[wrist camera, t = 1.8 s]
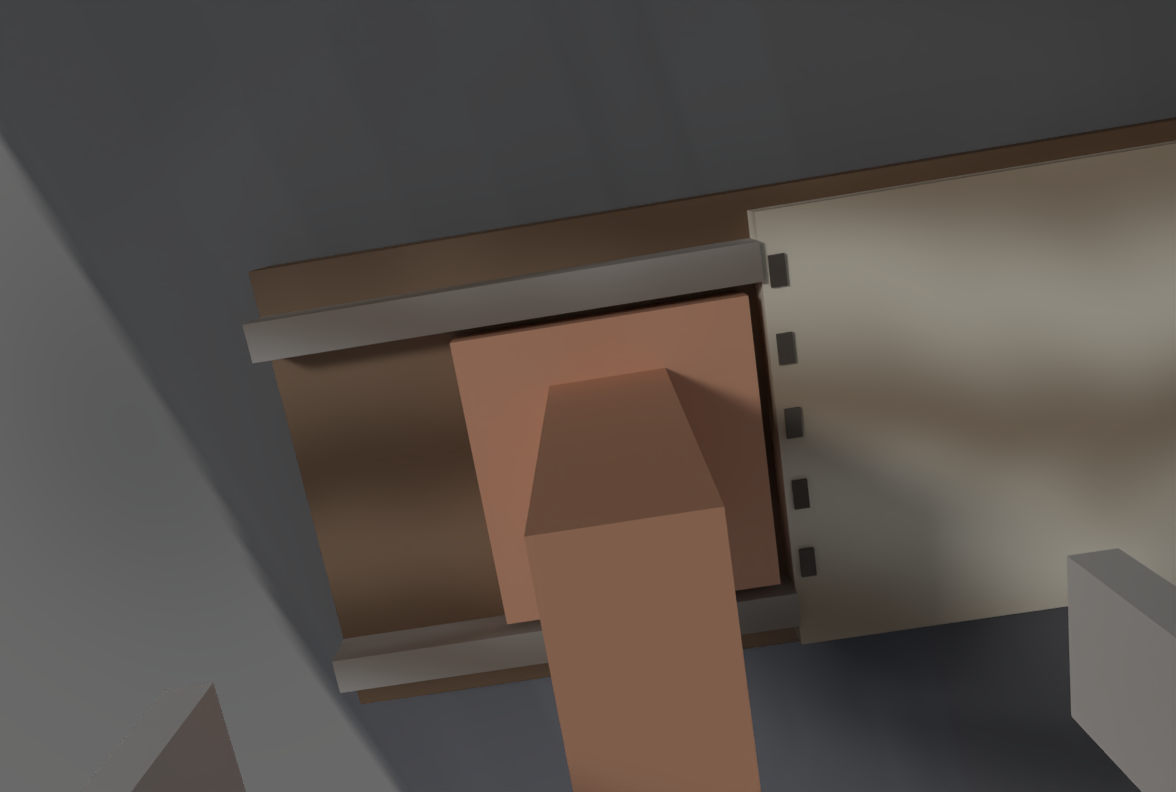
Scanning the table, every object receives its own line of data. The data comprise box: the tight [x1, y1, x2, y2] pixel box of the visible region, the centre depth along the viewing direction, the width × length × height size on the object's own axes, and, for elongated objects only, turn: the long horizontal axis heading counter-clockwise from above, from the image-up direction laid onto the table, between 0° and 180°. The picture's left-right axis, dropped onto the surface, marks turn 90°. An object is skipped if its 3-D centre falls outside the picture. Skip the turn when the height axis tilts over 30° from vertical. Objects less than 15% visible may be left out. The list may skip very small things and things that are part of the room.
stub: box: [450, 290, 781, 792], centre depth 18 cm, size 8×8×10 cm
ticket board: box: [243, 118, 1176, 704], centre depth 23 cm, size 13×28×3 cm, turn 99°
